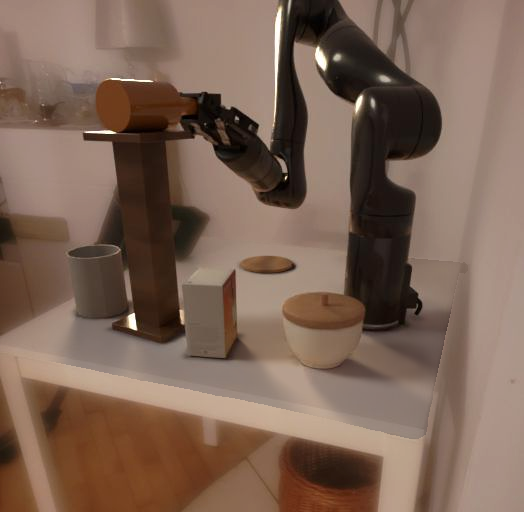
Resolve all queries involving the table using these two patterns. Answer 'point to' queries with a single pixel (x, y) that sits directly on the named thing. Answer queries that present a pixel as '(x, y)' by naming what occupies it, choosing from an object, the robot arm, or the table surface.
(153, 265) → the stand
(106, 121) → the bottle
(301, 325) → the trinket box
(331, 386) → the table surface
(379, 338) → the table surface
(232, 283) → the small box
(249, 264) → the mat
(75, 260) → the cup
